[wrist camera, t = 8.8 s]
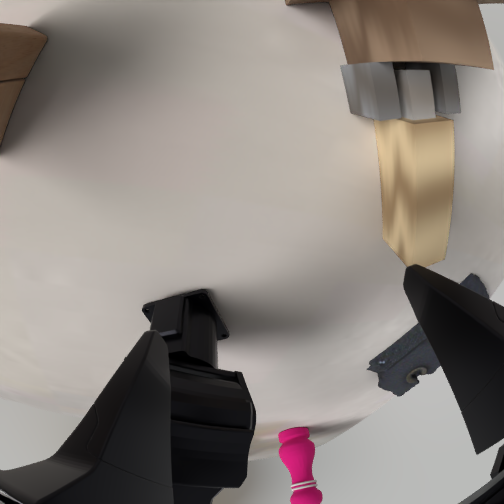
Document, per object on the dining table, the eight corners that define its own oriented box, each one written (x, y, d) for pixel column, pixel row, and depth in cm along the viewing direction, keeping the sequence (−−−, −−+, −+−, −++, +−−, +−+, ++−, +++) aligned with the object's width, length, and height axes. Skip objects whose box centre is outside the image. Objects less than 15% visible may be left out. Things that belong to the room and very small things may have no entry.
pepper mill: (269, 433, 46) (284, 520, 29) (303, 423, 44) (323, 513, 28) (284, 439, 50) (298, 517, 33) (314, 430, 48) (333, 510, 32)
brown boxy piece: (446, 103, 16) (541, 136, 7) (319, 118, 16) (407, 155, 8) (421, -7, 10) (513, -19, 2) (279, -14, 11) (334, -88, 2)
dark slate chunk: (487, 303, 33) (501, 321, 29) (397, 381, 41) (406, 401, 37) (473, 262, 27) (494, 285, 23) (355, 366, 35) (366, 393, 31)
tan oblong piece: (413, 228, 22) (444, 259, 18) (382, 238, 22) (411, 272, 18) (402, 68, 14) (447, 71, 10) (364, 70, 14) (405, 70, 10)
